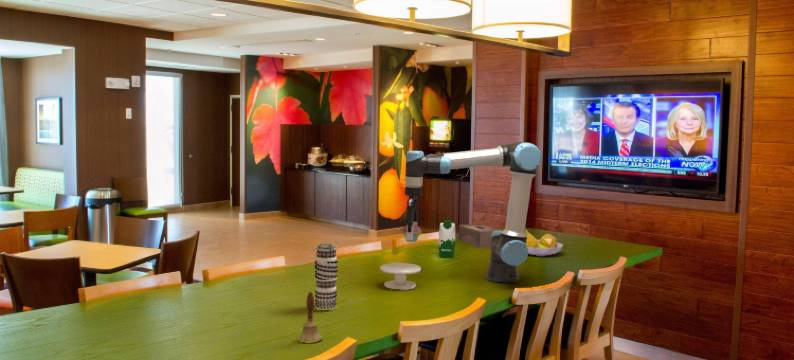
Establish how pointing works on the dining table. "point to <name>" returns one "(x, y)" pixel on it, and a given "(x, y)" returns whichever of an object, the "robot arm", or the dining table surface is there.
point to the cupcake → (416, 233)
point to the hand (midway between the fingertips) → (411, 237)
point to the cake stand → (400, 275)
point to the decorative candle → (326, 276)
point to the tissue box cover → (476, 235)
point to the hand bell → (310, 322)
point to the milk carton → (447, 239)
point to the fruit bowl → (542, 245)
